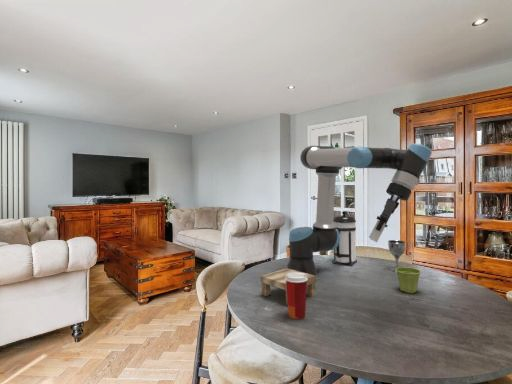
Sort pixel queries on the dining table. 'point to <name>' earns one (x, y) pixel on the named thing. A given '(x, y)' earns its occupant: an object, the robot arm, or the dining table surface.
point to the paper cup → (296, 294)
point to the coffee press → (345, 239)
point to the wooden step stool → (280, 282)
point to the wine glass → (396, 250)
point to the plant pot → (408, 279)
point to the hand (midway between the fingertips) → (373, 240)
